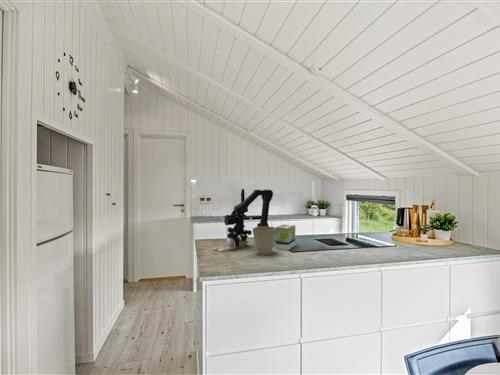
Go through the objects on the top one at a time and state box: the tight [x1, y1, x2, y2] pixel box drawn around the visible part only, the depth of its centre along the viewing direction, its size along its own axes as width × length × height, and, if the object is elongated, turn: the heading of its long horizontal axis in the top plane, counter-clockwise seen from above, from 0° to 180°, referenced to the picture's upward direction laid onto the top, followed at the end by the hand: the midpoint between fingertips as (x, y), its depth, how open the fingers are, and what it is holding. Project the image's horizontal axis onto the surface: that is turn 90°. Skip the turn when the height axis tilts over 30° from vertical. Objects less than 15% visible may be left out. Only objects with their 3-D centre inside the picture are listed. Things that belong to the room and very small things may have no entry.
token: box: [234, 240, 246, 250], centre depth 195 cm, size 4×4×5 cm
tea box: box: [274, 224, 296, 251], centre depth 197 cm, size 15×10×15 cm, turn 154°
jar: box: [226, 237, 235, 247], centre depth 201 cm, size 5×5×8 cm
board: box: [211, 245, 236, 253], centre depth 193 cm, size 10×12×1 cm
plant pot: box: [252, 226, 276, 256], centre depth 181 cm, size 15×15×16 cm
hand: (239, 246), depth 195 cm, fingers open, 5 cm apart
